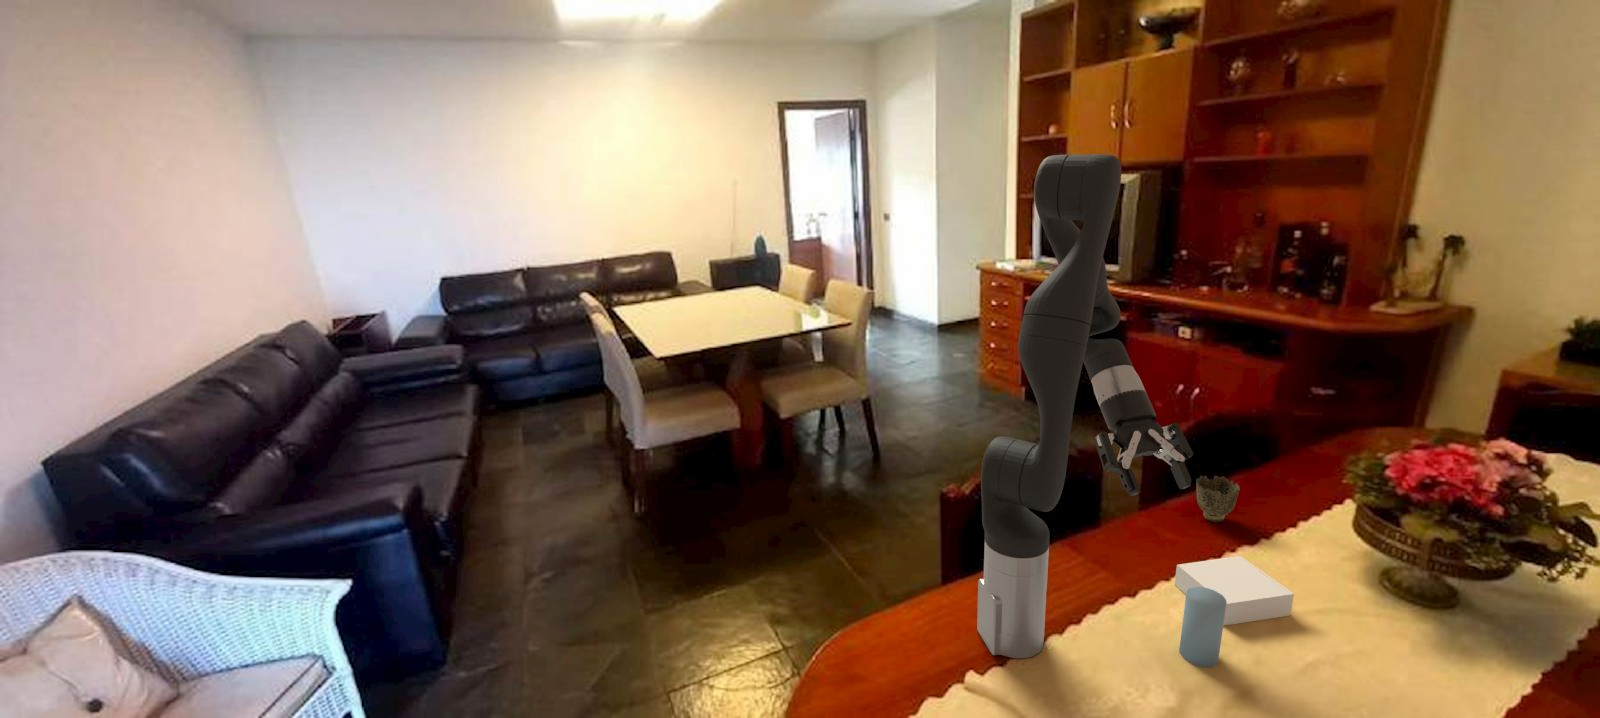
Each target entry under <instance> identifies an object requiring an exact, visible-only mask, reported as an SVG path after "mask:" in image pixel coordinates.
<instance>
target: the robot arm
mask: <svg viewBox="0 0 1600 718" xmlns="http://www.w3.org/2000/svg"><path fill="white" fill-rule="evenodd" d="M1121 183H1122V165H1121V162H1120V160H1119V158H1118V156H1116V155H1113V154H1105V153H1102V154H1101V153H1097V154H1096V153H1091V154H1090V153H1088V154H1086V153H1085V154H1055V155H1049V156H1047V157H1045V158H1044V159H1043V160H1042V162H1041V163H1040V164H1039V167H1038V169H1037V172H1036V175H1035V179H1034V185H1033V186H1034V187H1033V189H1034V190H1033V194H1034V195H1033V197H1034V198H1033V199H1034V204H1035V209H1036V212H1037V214H1038V217H1039V218H1038V219H1039V220H1040V223H1041V226H1042V228H1043V230H1044V233H1045V235H1046V238H1047V241H1048V242H1049V244H1050V247H1051V249H1052V252H1053V254H1054V255H1055V258H1056V262H1057V264H1058V265H1057V266H1056V268H1055V269H1054V270H1053V271H1052V272H1050V274H1049V275H1048V276H1047V277H1046V278H1045V279H1044V280H1043V281H1042V282H1041V283H1040V285H1039V286H1038V287H1037V288H1036V289H1035V290H1034V292H1032V294H1031V295H1030V297H1029V298H1028V300H1027V302H1026V304H1025V307H1024V311H1023V317H1022V322H1021V324H1020V331H1019V337H1018V342H1017V351H1018V356H1019V359H1020V362H1021V366H1022V368H1023V370H1024V372H1025V373H1024V374H1025V376H1026V377H1027V380H1028V383H1029V385H1030V388H1031V389H1032V391H1033V392H1032V393H1033V394H1034V397H1035V400H1036V403H1037V407H1038V414H1039V421H1040V424H1039V425H1040V429H1039V430H1040V433H1039V442H1038V443H1035V442H1031V441H1027V440H1023V439H1022V440H1021V439H1018V438H1014V437H1010V436H1009V437H1008V436H997V437H995V438H994V439H992V440H991V441H990V442H989V443H988V445H987V446H986V449H985V451H984V454H983V458H982V462H981V470H980V471H981V472H980V490H981V494H980V495H981V522H982V527H983V530H984V551H983V552H984V553H983V554H984V555H983V557H984V558H983V578H979V579H978V581H977V583H978V584H977V622H976V623H977V625H976V626H977V627H976V628H977V630H976V631H977V632H978V633H979V635H980V637H981V639H982V640H983V642H984V643H985V645H986V647H987V648H988V650H989V652H990V653H991V655H992V656H997V655H999V656H1000V655H1001V656H1003V657H1008V658H1012V659H1027V658H1031V657H1032V658H1033V657H1034V656H1036V655H1038V654H1039V653H1040V652H1041V651H1042V649H1043V647H1044V639H1045V623H1046V605H1047V604H1046V603H1047V590H1048V589H1047V588H1048V585H1047V584H1048V571H1049V570H1048V569H1049V553H1050V552H1049V551H1050V529H1049V527H1048V525H1047V524H1046V522H1045V521H1044V520H1043V519H1042V518H1040V517H1039V516H1038V515H1036V514H1035V513H1034V512H1033V511H1031V510H1030V509H1032V510H1035V511H1037V512H1041V513H1042V512H1044V513H1047V512H1048V513H1049V512H1051V511H1052V510H1053V509H1054V508H1055V507H1056V506H1057V504H1058V503H1059V500H1060V499H1061V496H1062V492H1063V489H1064V486H1065V480H1066V475H1067V468H1068V460H1069V451H1070V442H1071V441H1070V440H1071V434H1072V432H1071V431H1072V424H1073V415H1074V409H1075V402H1076V398H1077V392H1078V387H1079V383H1080V378H1081V373H1082V368H1083V364H1084V366H1085V369H1086V371H1087V374H1088V377H1089V378H1090V381H1091V384H1092V388H1093V394H1094V396H1095V398H1096V400H1097V403H1098V406H1099V408H1100V411H1101V414H1102V416H1103V418H1104V421H1105V423H1106V425H1107V428H1108V430H1109V431H1110V433H1108V432H1107V431H1105V430H1103V431H1101V432H1100V433H1098V435H1096V436H1095V437H1094V439H1093V440H1094V443H1095V446H1096V451H1097V453H1098V456H1099V459H1100V463H1101V465H1102V469H1103V470H1104V471H1105V472H1115V473H1117V475H1118V477H1119V480H1120V482H1121V484H1122V487H1123V490H1124V491H1125V492H1126V493H1128V495H1129V496H1131V497H1132V496H1136V495H1139V493H1140V492H1141V488H1140V486H1139V484H1138V481H1137V479H1136V478H1137V477H1136V475H1135V473H1134V472H1133V468H1130V467H1131V464H1132V460H1133V459H1134V458H1139V457H1141V456H1145V457H1149V456H1153V455H1154V457H1157V459H1159V460H1160V459H1161V460H1163V461H1164V462H1165V463H1167V465H1169V466H1171V467H1170V471H1171V473H1172V475H1173V477H1174V480H1175V482H1176V485H1177V486H1178V489H1180V490H1185V489H1187V488H1189V487H1191V482H1192V477H1191V475H1190V473H1189V470H1188V468H1187V465H1186V461H1187V460H1188V459H1190V458H1192V457H1194V451H1193V450H1192V448H1191V446H1190V444H1189V442H1188V440H1187V438H1186V436H1185V435H1184V433H1183V430H1182V429H1181V427H1180V424H1179V423H1177V422H1173V423H1172V424H1170V425H1166V426H1161V425H1160V424H1159V423H1158V422H1157V417H1156V416H1157V414H1156V412H1155V410H1154V407H1153V405H1152V402H1151V401H1150V398H1149V396H1148V393H1147V391H1146V389H1145V387H1144V384H1143V382H1142V380H1141V378H1140V376H1139V374H1138V373H1137V372H1136V370H1135V368H1134V366H1133V363H1132V361H1131V358H1130V357H1129V354H1128V351H1127V350H1126V349H1127V348H1126V347H1125V345H1124V344H1123V342H1122V341H1121V340H1119V339H1117V338H1091V336H1094V335H1098V334H1102V333H1105V332H1108V331H1111V330H1113V329H1115V328H1116V327H1117V326H1118V324H1119V323H1120V321H1121V315H1122V313H1121V310H1120V307H1119V305H1118V303H1117V301H1116V299H1115V298H1114V297H1113V295H1112V293H1111V292H1110V290H1109V286H1108V279H1107V268H1106V262H1105V259H1104V254H1105V250H1106V246H1107V243H1108V242H1107V241H1108V237H1109V234H1110V229H1111V225H1112V222H1113V218H1114V215H1115V210H1116V207H1117V202H1118V199H1119V194H1120V189H1121ZM1074 221H1084V222H1083V225H1082V227H1081V230H1080V228H1079V227H1078V226H1077V225H1076V224H1075V222H1074ZM1113 443H1114V444H1115V445H1116V446H1118V447H1119V448H1120V449H1119V452H1118V455H1117V457H1116V454H1115V452H1114V451H1115V450H1114V448H1113ZM1161 448H1162V449H1161Z"/></svg>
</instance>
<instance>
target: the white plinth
mask: <svg viewBox="0 0 1600 718" xmlns="http://www.w3.org/2000/svg"><path fill="white" fill-rule="evenodd" d="M1174 586H1175V587H1176V588H1178V589H1179V590H1180V591H1181V592H1182V593H1183V594H1185V595H1186V592H1187V590H1188V589H1189V588H1192V587H1204V588H1208V589H1212V590H1214V591H1216V592H1218V593H1220V594H1221V595H1222V596H1224V598H1225V599H1226V602H1227V603H1226V610H1225V617H1224V624H1223V627H1224V626H1230V625H1236V624H1237V625H1238V624H1243V623H1250V622H1258V621H1263V620H1268V619H1276V618H1281V617H1283V618H1284V617H1289V616H1291V614H1292V609H1293V602H1294V596H1295V593H1294V592H1292V591H1291V590H1289V589H1288V588H1286V587H1285V586H1284V585H1282V584H1281V583H1279V582H1278V581H1276V580H1275V579H1274V578H1272V577H1271V576H1269V575H1268V574H1266V573H1265V572H1264V571H1262V570H1261V569H1260V568H1258V567H1257V566H1255V565H1253V563H1251V562H1249V561H1248V560H1247V559H1245V558H1244V557H1242V556H1241V555H1237V556H1230V557H1224V558H1216V559H1207V560H1202V561H1193V562H1186V563H1181V564H1176V570H1175V579H1174Z"/></svg>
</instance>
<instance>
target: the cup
mask: <svg viewBox="0 0 1600 718" xmlns="http://www.w3.org/2000/svg"><path fill="white" fill-rule="evenodd" d="M1195 481H1196V501H1197V505H1198V507H1199V508H1200V510H1202V511H1203V513H1202V514H1203V517H1204V518H1205V519H1206V520H1207V521H1210V522H1214V523H1220V522H1222V521H1224V520H1225V516H1226V515H1229V514H1230V513H1232V511H1233V510H1234V508H1235V506H1236V503H1237V499H1238V497H1239V493H1240V490H1241V487H1240V485H1239V483H1235V482H1234V480H1230V481H1229V479H1227V478H1226V477H1225V476H1222V477H1219V476H1217V475H1215V476H1214V477H1213V478H1208V476H1207V475H1200V476H1199V478H1198V477H1197V478H1196V480H1195ZM1234 483H1235V484H1234Z"/></svg>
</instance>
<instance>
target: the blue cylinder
mask: <svg viewBox="0 0 1600 718" xmlns="http://www.w3.org/2000/svg"><path fill="white" fill-rule="evenodd" d="M1226 603H1227V602H1226V599H1225V598H1224V596H1222V595H1221V594H1220V593H1218V592H1216V591H1214V590H1212V589H1208V588H1204V587H1192V588H1189V589H1188V590H1187V592H1186V594H1185V601H1184V607H1183V608H1184V609H1183V617H1182V626H1181V632H1180V633H1181V635H1180V642H1179V648H1178V649H1179V654H1180V655H1181V658H1183V659H1184V660H1185V661H1187V662H1188V663H1190V664H1192V665H1194V666H1197V667H1199V668H1200V667H1202V668H1212V667H1215V666H1217V665H1218V664H1219V660H1220V659H1219V658H1220V652H1221V651H1220V650H1221V644H1222V637H1223V629H1224V626H1223V624H1224V617H1225V610H1226Z"/></svg>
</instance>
